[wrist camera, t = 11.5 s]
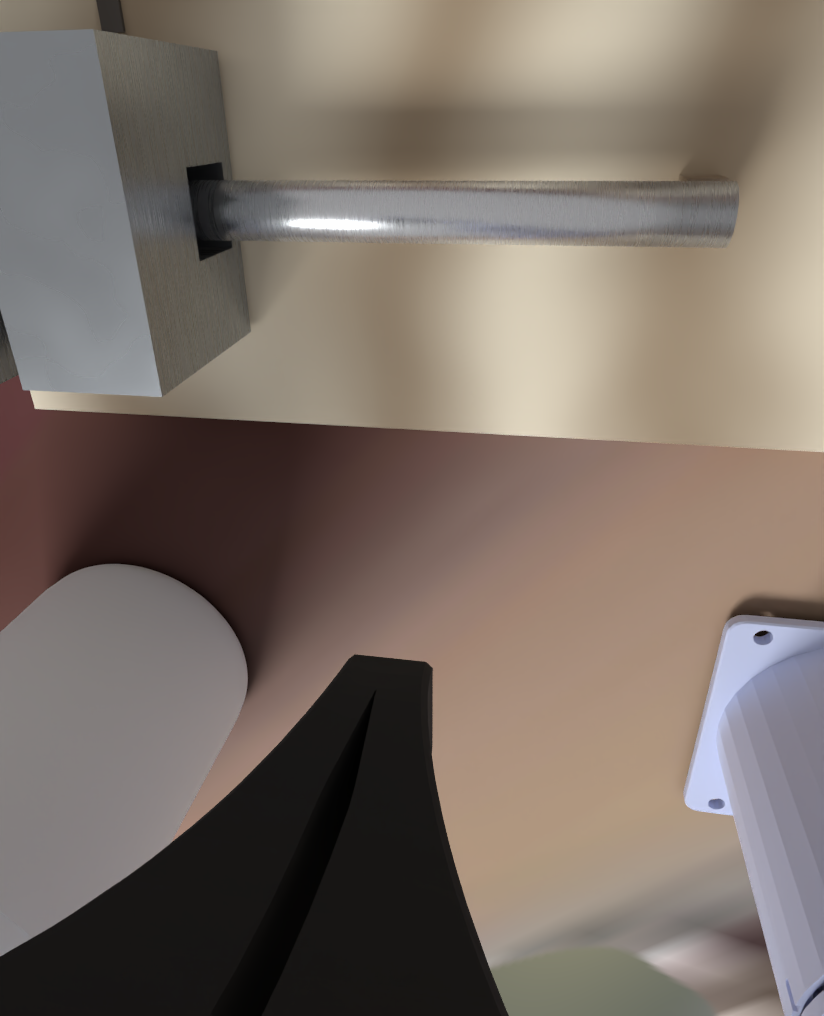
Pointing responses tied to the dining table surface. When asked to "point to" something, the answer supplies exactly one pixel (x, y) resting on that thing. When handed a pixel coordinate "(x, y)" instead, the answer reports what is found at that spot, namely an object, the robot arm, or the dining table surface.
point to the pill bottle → (104, 734)
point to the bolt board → (507, 214)
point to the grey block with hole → (112, 213)
